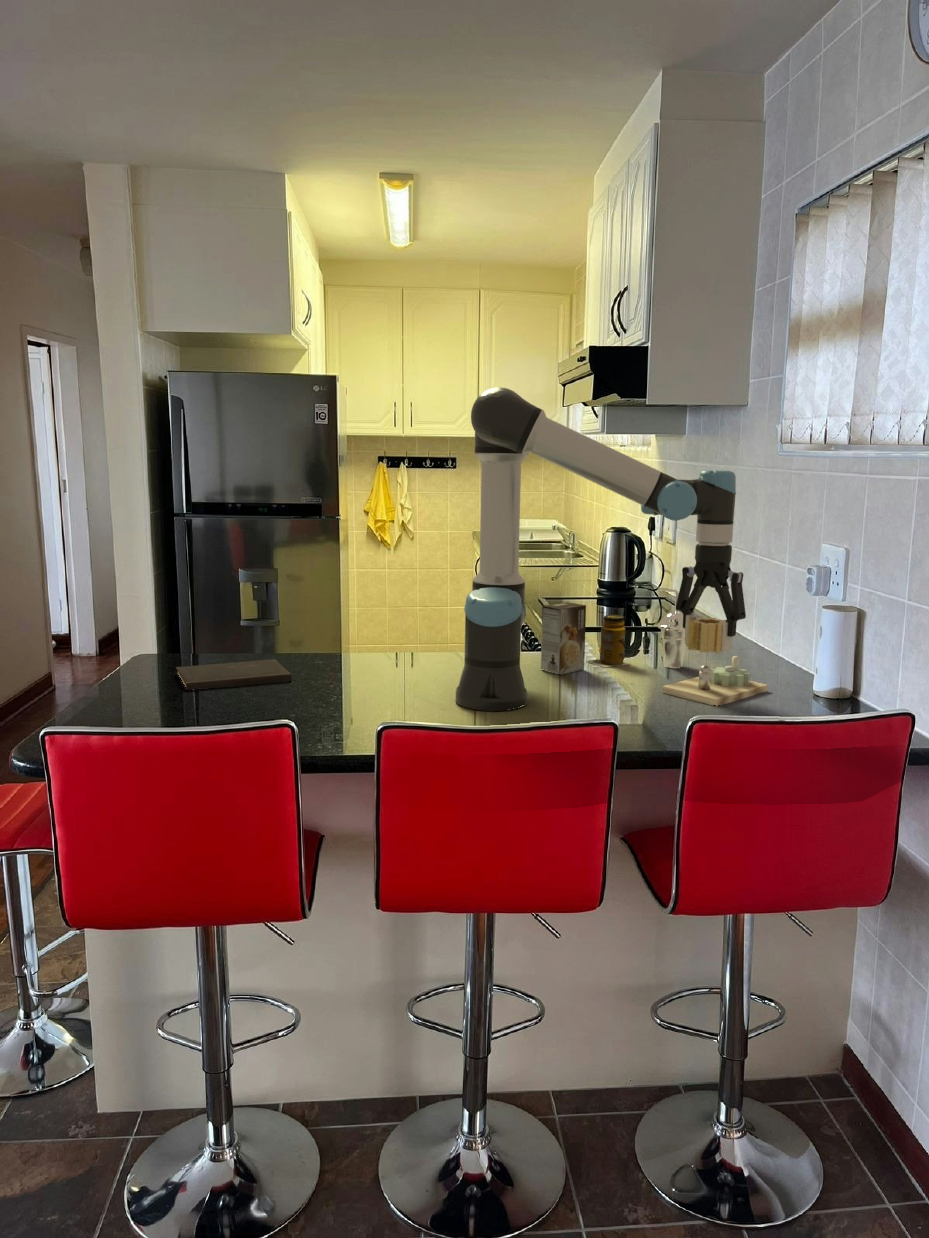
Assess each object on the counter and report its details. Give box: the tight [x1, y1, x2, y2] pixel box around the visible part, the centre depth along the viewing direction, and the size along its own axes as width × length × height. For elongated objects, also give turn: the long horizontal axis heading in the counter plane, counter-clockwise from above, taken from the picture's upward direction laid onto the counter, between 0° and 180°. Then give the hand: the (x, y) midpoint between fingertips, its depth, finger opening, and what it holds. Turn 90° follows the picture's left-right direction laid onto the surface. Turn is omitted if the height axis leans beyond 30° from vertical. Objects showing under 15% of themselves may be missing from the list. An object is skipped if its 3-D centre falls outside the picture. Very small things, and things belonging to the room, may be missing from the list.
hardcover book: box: [175, 658, 292, 691], centre depth 206 cm, size 16×23×2 cm
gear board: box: [661, 676, 769, 707], centre depth 201 cm, size 20×14×2 cm
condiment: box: [587, 614, 631, 668], centre depth 226 cm, size 7×8×12 cm
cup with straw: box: [656, 586, 687, 669], centre depth 223 cm, size 8×9×20 cm
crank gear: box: [710, 655, 751, 687], centre depth 204 cm, size 9×9×6 cm
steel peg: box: [698, 664, 712, 690], centre depth 197 cm, size 3×3×5 cm
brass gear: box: [686, 617, 726, 654], centre depth 196 cm, size 9×9×6 cm
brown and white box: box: [540, 601, 587, 675], centre depth 217 cm, size 9×6×16 cm
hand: (707, 647), depth 196 cm, fingers closed on brass gear, 9 cm apart
